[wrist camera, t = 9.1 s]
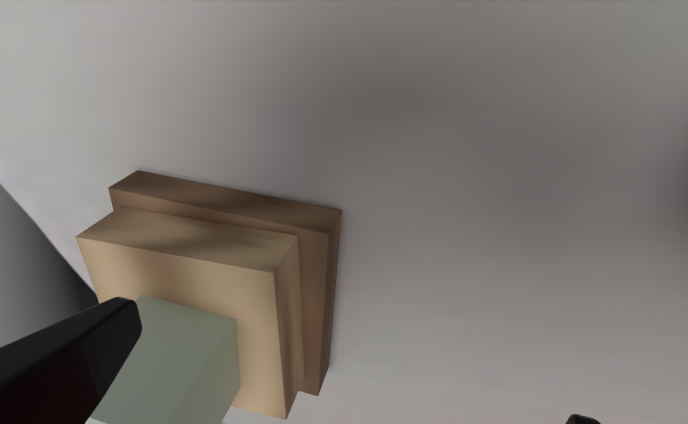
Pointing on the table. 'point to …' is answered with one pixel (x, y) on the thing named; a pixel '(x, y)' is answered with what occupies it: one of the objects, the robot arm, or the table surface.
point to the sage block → (175, 369)
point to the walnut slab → (266, 214)
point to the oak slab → (212, 288)
